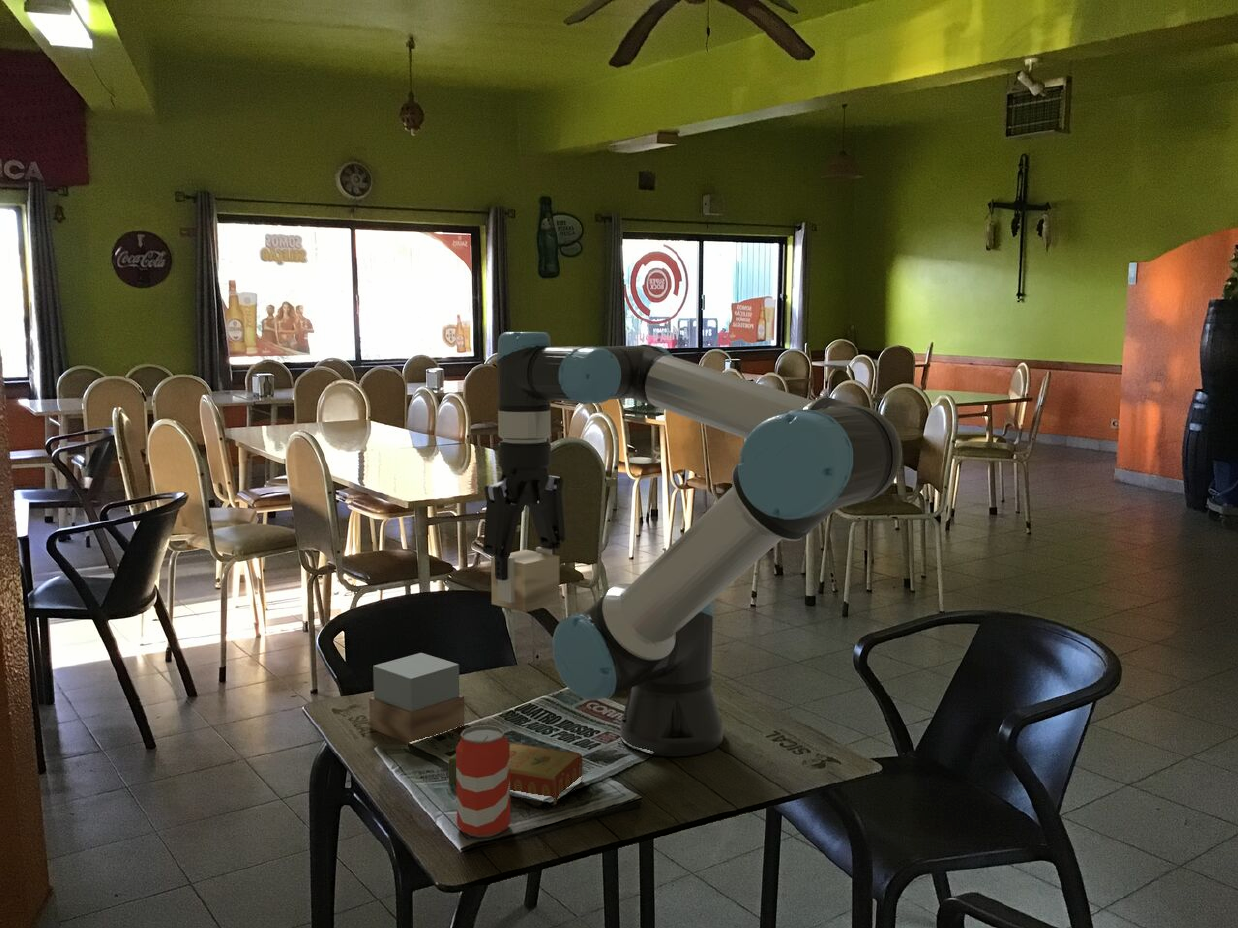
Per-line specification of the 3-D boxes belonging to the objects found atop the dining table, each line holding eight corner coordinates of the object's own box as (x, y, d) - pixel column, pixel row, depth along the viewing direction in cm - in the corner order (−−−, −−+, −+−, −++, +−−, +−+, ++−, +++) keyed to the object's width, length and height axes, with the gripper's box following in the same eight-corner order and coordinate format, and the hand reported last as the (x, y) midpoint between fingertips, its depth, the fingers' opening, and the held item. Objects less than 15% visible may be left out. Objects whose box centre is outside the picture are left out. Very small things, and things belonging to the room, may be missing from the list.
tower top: (459, 696, 165) (458, 664, 164) (411, 712, 158) (410, 678, 157) (421, 683, 171) (421, 652, 170) (374, 698, 164) (373, 665, 163)
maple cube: (559, 602, 160) (559, 556, 159) (525, 612, 155) (524, 563, 154) (526, 595, 165) (525, 549, 164) (491, 603, 159) (491, 556, 158)
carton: (555, 807, 138) (554, 775, 138) (446, 786, 145) (446, 755, 144) (583, 782, 146) (583, 751, 145) (479, 763, 152) (478, 734, 152)
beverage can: (452, 839, 129) (450, 741, 127) (466, 815, 135) (465, 722, 134) (502, 842, 128) (501, 744, 127) (514, 818, 134) (513, 724, 133)
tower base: (464, 727, 166) (464, 695, 165) (411, 746, 158) (411, 713, 157) (422, 712, 172) (422, 681, 171) (370, 729, 165) (369, 697, 164)
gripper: (554, 433, 167) (554, 580, 169) (454, 443, 152) (456, 604, 154) (590, 436, 162) (590, 587, 165) (490, 447, 147) (492, 613, 150)
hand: (525, 595), depth 160 cm, fingers closed on maple cube, 7 cm apart
